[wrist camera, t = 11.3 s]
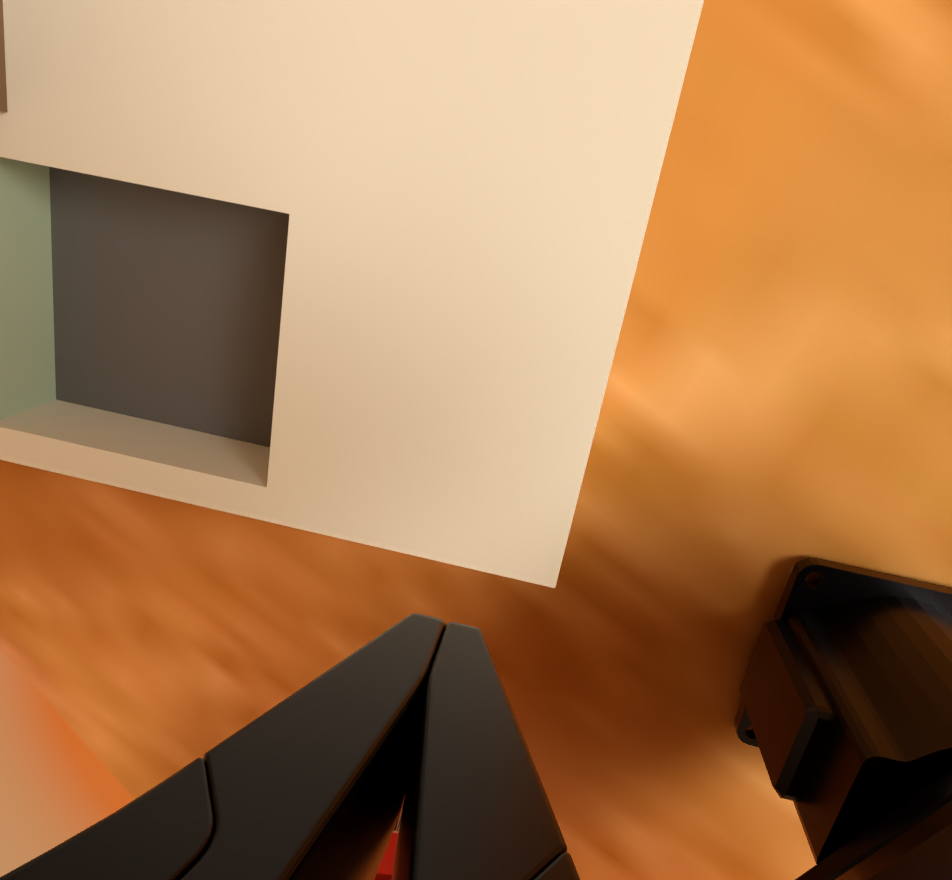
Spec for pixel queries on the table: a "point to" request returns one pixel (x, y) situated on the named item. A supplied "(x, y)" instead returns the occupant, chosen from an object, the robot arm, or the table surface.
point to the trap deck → (330, 254)
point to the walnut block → (2, 64)
